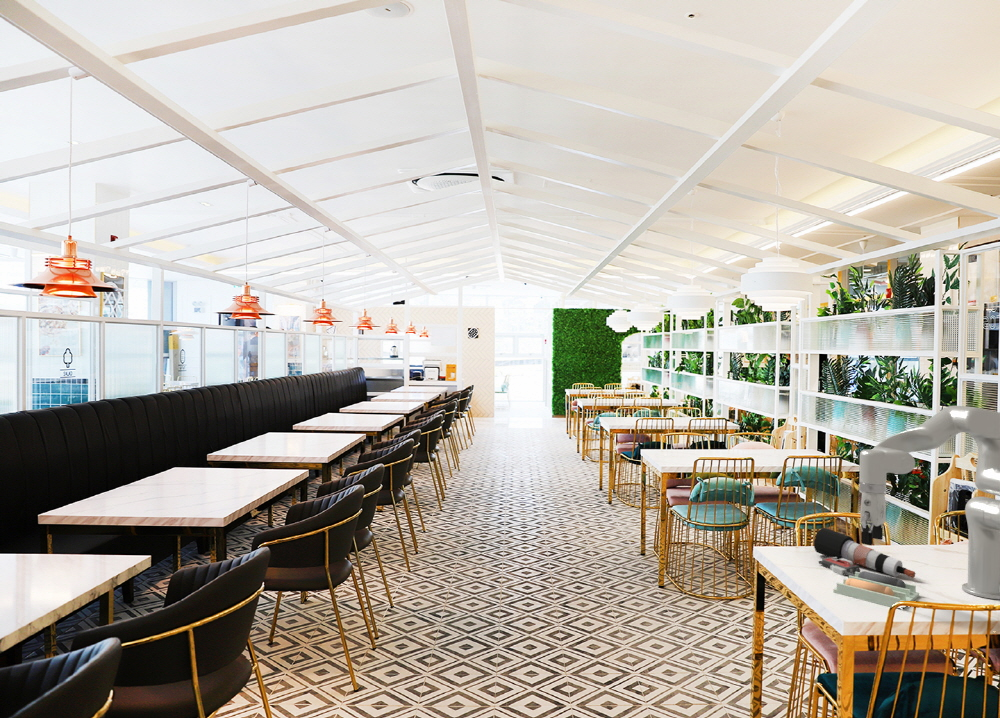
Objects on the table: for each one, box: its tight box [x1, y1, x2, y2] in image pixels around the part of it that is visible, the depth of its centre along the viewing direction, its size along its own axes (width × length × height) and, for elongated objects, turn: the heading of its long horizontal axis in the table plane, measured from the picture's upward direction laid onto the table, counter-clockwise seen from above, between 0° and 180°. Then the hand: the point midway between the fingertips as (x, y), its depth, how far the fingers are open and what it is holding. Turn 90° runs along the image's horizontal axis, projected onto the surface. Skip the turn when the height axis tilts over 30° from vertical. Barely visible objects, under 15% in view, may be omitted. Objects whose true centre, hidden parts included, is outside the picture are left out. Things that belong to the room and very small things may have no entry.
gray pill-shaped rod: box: [858, 570, 906, 588], centre depth 215 cm, size 14×4×4 cm, turn 43°
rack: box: [832, 571, 920, 610], centre depth 211 cm, size 20×18×3 cm
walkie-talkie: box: [818, 556, 861, 577], centre depth 233 cm, size 9×4×20 cm
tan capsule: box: [845, 577, 894, 596], centre depth 208 cm, size 14×4×4 cm, turn 43°
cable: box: [813, 527, 917, 579], centre depth 239 cm, size 10×34×10 cm, turn 32°
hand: (871, 541), depth 208 cm, fingers open, 9 cm apart
